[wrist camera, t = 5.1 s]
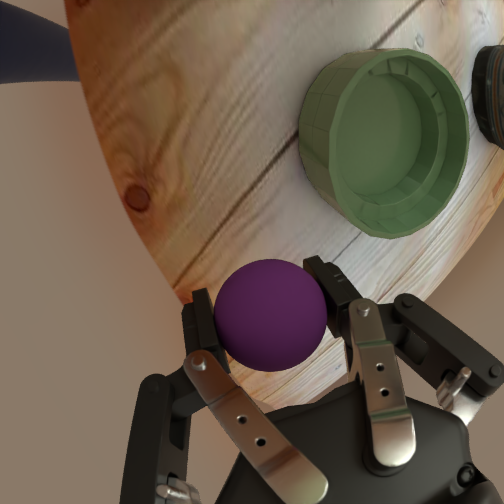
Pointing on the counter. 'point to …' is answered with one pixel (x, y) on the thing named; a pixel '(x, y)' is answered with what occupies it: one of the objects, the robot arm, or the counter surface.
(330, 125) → the green bowl
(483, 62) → the beer stein
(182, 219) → the counter surface
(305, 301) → the ball
